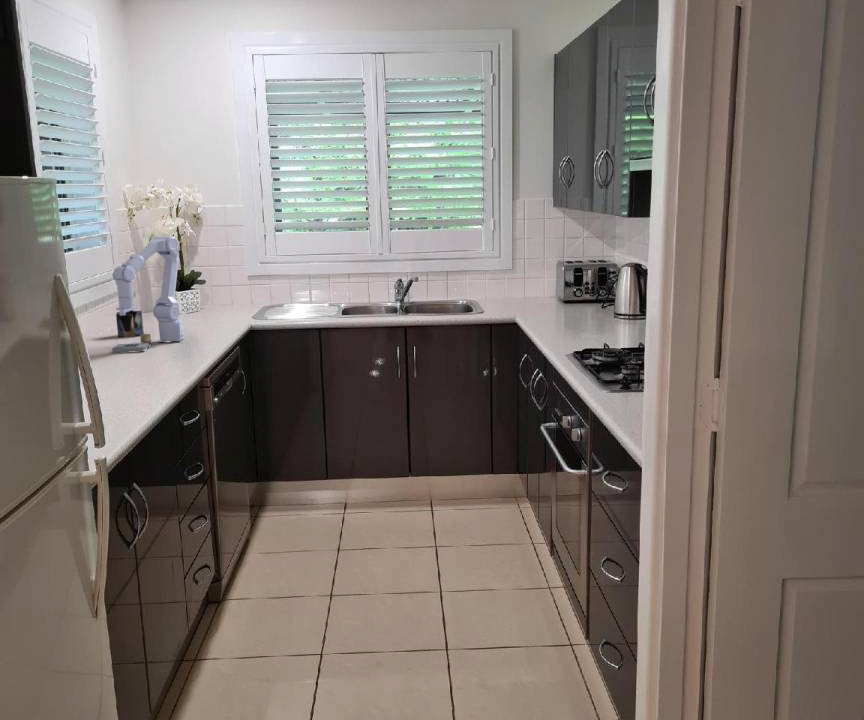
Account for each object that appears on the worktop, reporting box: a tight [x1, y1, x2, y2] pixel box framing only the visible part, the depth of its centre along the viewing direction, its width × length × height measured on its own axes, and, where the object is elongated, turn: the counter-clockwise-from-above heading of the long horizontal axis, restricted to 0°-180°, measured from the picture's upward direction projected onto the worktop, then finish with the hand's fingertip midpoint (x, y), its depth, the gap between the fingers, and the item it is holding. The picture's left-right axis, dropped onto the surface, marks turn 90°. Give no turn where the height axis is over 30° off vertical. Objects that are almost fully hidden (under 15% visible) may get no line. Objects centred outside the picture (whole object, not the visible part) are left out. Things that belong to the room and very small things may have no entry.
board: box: [112, 342, 150, 354], centre depth 329 cm, size 12×8×2 cm, turn 95°
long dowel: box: [123, 317, 136, 339], centre depth 327 cm, size 4×4×8 cm
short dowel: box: [139, 333, 152, 345], centre depth 339 cm, size 4×4×4 cm
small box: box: [115, 310, 145, 338], centre depth 360 cm, size 11×6×10 cm, turn 105°
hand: (129, 330), depth 328 cm, fingers closed on long dowel, 4 cm apart
